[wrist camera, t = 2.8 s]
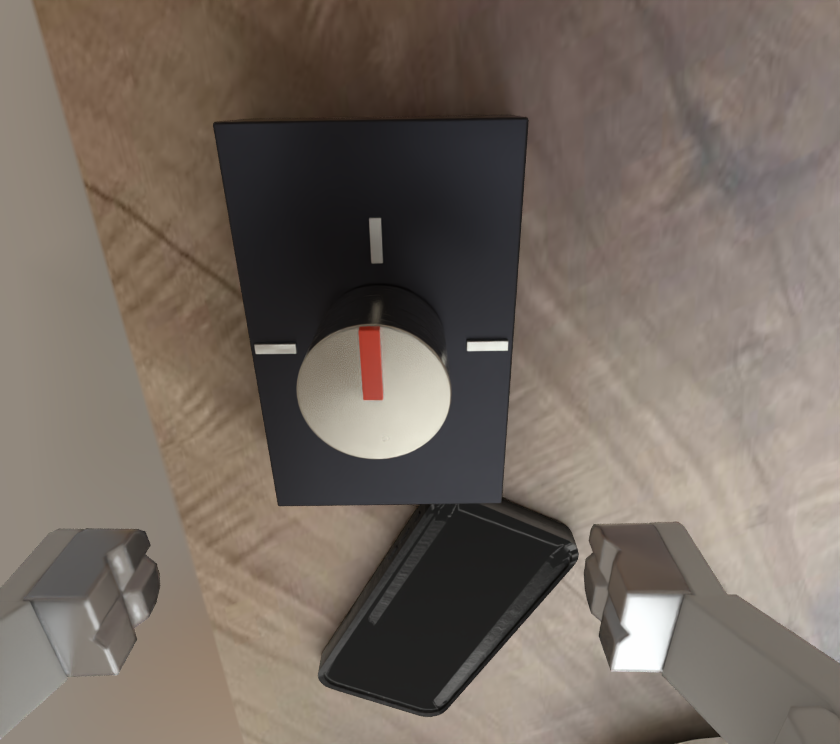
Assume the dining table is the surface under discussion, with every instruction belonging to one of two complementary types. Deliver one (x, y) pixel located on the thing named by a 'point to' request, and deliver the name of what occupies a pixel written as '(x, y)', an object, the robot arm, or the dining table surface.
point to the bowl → (706, 741)
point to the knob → (376, 374)
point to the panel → (380, 280)
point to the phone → (445, 603)
